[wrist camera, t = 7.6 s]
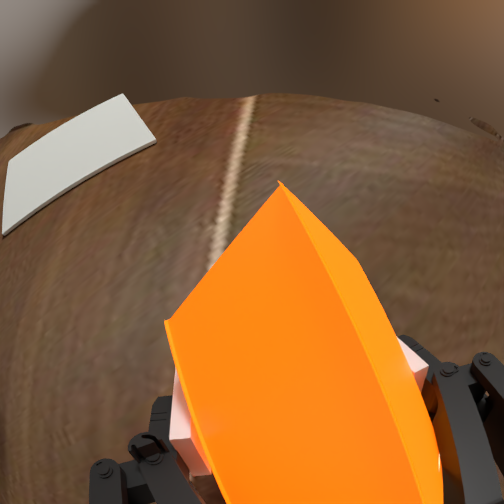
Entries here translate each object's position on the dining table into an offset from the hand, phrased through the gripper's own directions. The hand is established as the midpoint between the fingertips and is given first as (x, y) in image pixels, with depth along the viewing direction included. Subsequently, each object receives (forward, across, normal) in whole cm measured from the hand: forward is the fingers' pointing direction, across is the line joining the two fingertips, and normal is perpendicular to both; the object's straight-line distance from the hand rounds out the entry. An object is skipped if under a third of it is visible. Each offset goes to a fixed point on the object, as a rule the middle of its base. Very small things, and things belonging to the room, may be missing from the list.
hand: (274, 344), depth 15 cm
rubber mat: (+33, -25, +20) cm, 46 cm away
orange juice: (+4, 0, -9) cm, 10 cm away
